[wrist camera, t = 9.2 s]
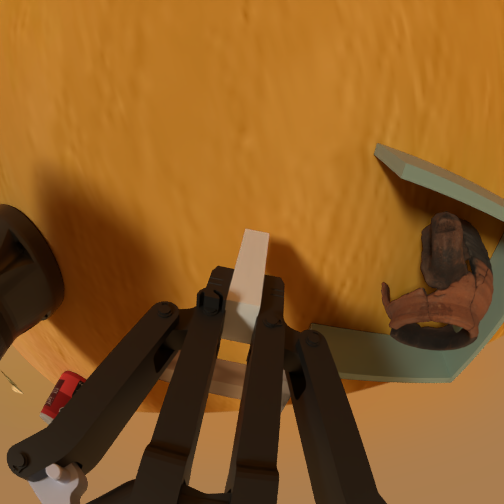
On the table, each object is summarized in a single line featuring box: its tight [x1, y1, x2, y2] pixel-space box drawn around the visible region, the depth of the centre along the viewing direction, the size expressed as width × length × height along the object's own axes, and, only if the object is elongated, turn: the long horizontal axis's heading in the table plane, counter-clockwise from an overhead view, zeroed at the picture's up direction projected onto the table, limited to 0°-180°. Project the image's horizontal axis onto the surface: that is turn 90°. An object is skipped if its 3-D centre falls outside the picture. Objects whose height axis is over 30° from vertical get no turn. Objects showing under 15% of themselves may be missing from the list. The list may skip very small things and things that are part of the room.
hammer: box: [159, 350, 291, 412], centre depth 28 cm, size 16×8×3 cm, turn 81°
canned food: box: [40, 371, 86, 424], centre depth 36 cm, size 8×8×11 cm
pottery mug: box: [381, 211, 494, 351], centre depth 17 cm, size 12×10×8 cm
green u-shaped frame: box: [309, 143, 504, 383], centre depth 18 cm, size 15×17×5 cm
